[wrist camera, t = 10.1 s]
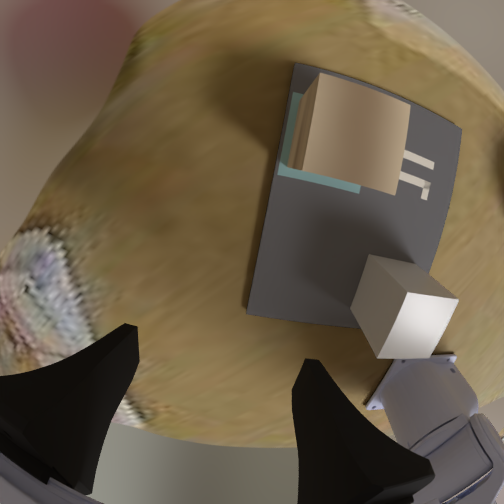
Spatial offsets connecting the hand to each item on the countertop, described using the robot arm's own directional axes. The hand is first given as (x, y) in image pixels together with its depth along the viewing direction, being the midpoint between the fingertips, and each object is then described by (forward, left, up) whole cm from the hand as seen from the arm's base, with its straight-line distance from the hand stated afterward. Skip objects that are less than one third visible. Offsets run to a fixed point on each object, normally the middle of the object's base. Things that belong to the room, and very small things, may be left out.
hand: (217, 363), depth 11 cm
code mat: (-8, -6, -9) cm, 14 cm away
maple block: (-4, -10, -9) cm, 14 cm away
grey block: (-11, -1, -9) cm, 14 cm away
